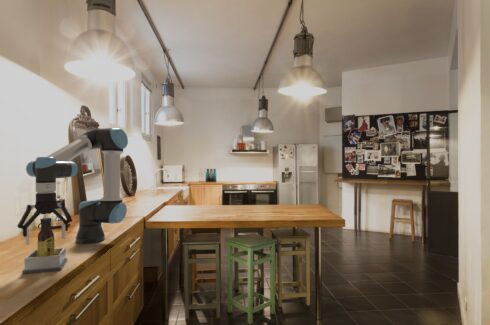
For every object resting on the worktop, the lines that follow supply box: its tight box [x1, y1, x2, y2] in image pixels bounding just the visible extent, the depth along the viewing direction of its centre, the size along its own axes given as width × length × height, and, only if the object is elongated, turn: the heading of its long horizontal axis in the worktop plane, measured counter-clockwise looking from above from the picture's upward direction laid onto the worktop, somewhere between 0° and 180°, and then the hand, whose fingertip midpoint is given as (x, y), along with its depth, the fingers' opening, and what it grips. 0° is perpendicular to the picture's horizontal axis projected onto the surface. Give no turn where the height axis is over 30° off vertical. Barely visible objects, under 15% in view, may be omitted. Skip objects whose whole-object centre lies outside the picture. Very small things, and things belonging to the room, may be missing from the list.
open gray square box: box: [21, 247, 69, 275], centre depth 138 cm, size 14×14×6 cm
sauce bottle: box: [37, 217, 55, 257], centre depth 138 cm, size 7×6×20 cm
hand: (46, 241), depth 138 cm, fingers open, 13 cm apart
